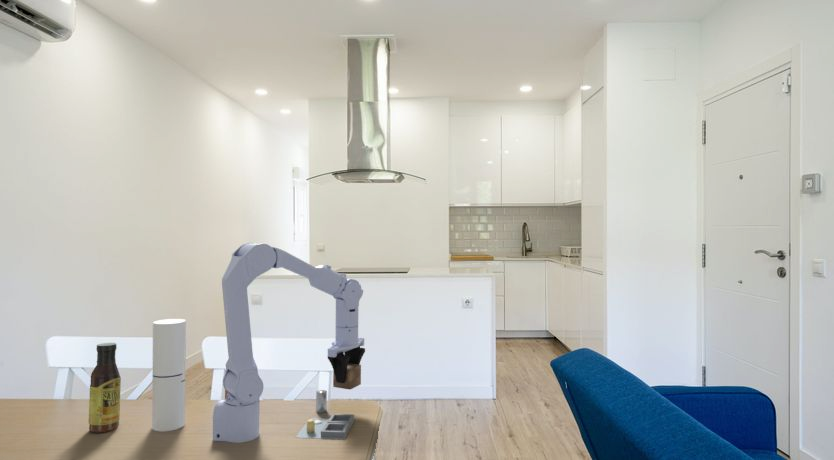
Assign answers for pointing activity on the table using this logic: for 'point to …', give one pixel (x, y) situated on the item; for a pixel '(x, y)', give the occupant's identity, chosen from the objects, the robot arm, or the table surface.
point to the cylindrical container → (168, 374)
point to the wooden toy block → (350, 377)
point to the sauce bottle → (105, 391)
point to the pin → (321, 401)
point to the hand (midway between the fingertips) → (346, 379)
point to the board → (327, 427)
